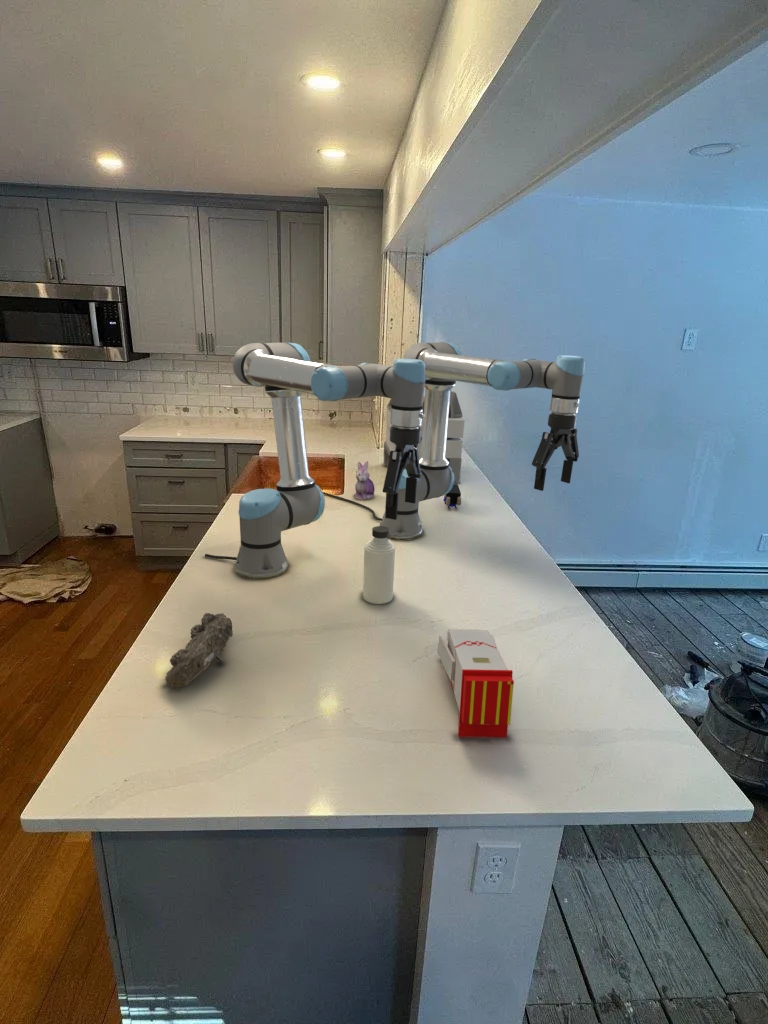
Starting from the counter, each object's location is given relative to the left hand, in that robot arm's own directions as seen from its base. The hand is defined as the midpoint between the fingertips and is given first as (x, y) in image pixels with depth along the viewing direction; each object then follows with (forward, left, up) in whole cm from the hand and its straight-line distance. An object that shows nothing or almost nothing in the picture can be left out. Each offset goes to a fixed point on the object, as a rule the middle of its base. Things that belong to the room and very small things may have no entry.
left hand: (401, 510), depth 142 cm
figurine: (-46, +79, -27) cm, 96 cm away
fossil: (-28, -42, -27) cm, 58 cm away
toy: (+28, -27, -27) cm, 47 cm away
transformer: (-39, +126, -27) cm, 135 cm away
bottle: (-6, +2, -27) cm, 28 cm away
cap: (-6, +3, -8) cm, 10 cm away
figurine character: (-11, +87, -27) cm, 92 cm away
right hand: (+32, +40, +1) cm, 51 cm away
